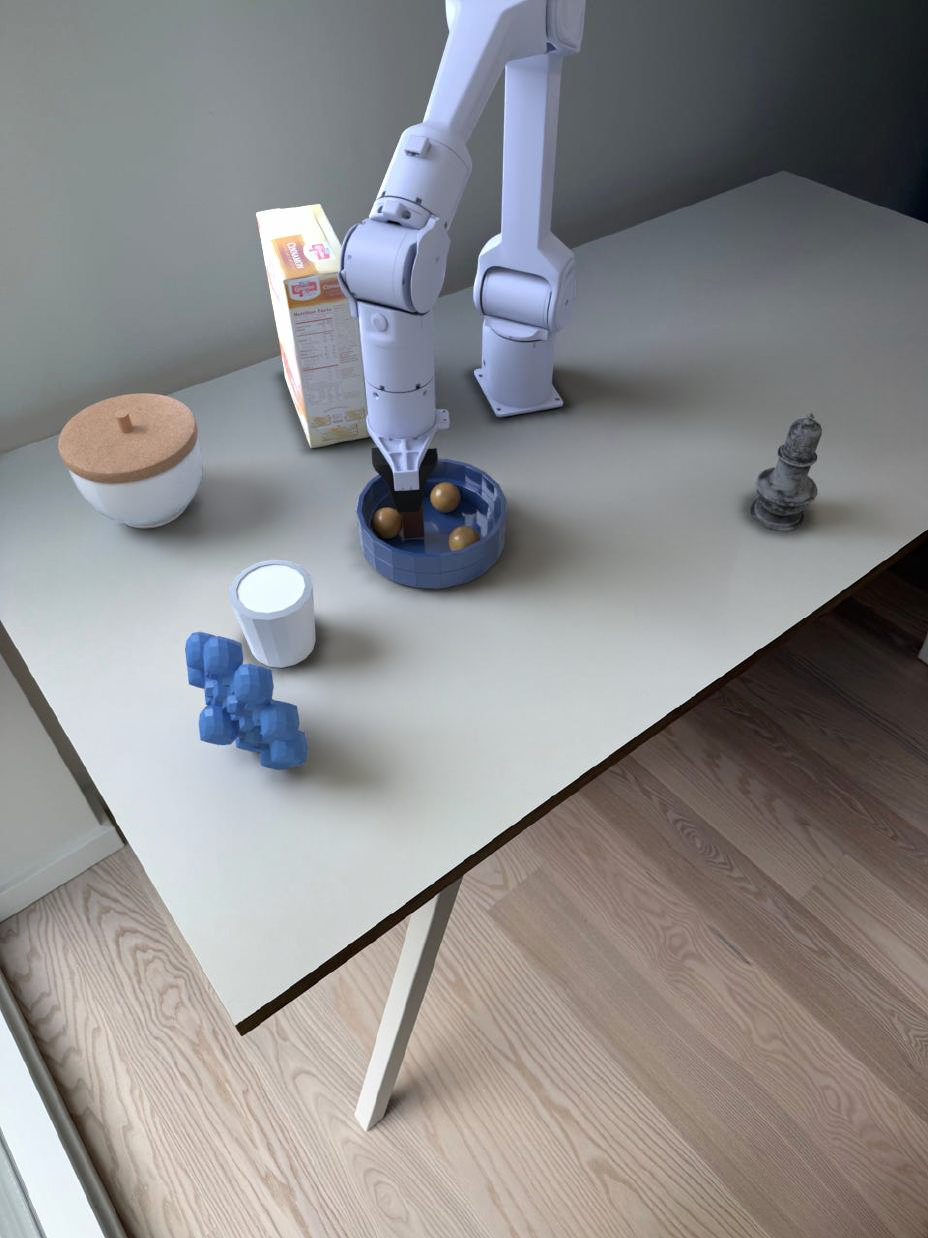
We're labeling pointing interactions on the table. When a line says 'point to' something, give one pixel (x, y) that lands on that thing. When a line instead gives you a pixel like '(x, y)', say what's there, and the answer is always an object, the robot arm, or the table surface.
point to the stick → (413, 524)
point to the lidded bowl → (135, 458)
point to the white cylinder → (275, 611)
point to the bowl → (437, 530)
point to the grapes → (242, 703)
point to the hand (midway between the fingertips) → (407, 500)
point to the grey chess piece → (789, 479)
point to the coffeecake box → (314, 324)
